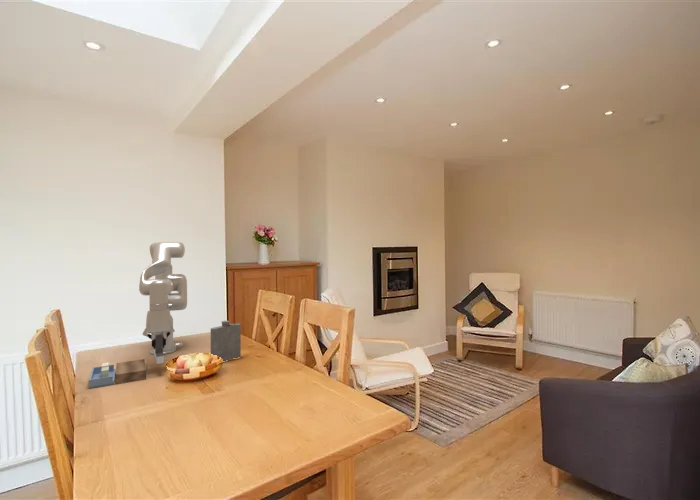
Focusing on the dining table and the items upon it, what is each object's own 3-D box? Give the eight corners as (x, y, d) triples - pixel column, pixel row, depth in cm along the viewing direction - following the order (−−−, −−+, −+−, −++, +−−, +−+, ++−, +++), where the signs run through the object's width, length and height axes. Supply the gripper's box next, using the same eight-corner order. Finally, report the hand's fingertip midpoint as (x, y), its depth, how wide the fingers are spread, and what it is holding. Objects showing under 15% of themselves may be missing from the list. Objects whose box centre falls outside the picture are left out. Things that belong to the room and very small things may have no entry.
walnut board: (144, 367, 170) (144, 359, 170) (146, 379, 155) (146, 369, 155) (116, 371, 164) (116, 363, 164) (115, 384, 149) (115, 374, 149)
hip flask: (212, 365, 173) (212, 324, 173) (208, 363, 175) (208, 323, 175) (241, 358, 185) (241, 319, 185) (237, 356, 187) (237, 318, 187)
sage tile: (108, 366, 154) (101, 367, 153) (108, 369, 150) (101, 371, 149) (108, 378, 154) (101, 379, 153) (108, 381, 150) (101, 383, 149)
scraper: (161, 354, 172) (161, 331, 173) (164, 362, 159) (164, 337, 159) (154, 355, 171) (154, 331, 171) (156, 363, 157) (156, 338, 157)
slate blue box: (115, 371, 164) (115, 364, 164) (114, 384, 149) (114, 376, 149) (92, 375, 159) (92, 367, 159) (89, 388, 144) (88, 380, 144)
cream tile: (108, 362, 160) (102, 363, 159) (108, 365, 156) (101, 366, 155) (109, 373, 160) (102, 374, 159) (108, 376, 156) (101, 377, 155)
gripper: (177, 305, 173) (177, 343, 172) (137, 308, 164) (138, 348, 164) (179, 307, 166) (179, 346, 166) (138, 310, 158) (138, 352, 157)
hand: (158, 347), depth 165 cm, fingers closed on scraper, 3 cm apart
